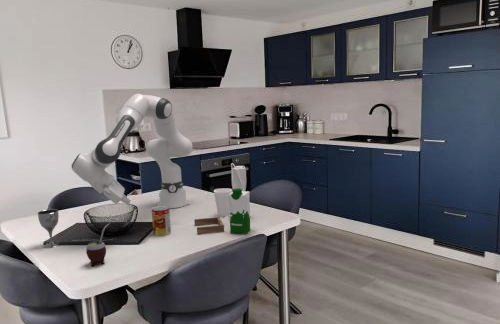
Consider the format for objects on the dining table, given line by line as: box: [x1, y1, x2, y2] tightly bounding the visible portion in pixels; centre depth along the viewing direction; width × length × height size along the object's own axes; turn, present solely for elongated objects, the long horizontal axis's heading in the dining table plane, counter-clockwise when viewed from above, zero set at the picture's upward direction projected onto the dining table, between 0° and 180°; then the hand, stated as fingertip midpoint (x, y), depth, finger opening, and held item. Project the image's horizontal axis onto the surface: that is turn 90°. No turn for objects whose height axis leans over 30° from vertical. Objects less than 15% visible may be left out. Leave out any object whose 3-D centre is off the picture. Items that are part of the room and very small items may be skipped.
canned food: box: [151, 205, 172, 237], centre depth 193 cm, size 8×8×12 cm
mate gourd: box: [85, 222, 111, 267], centre depth 159 cm, size 8×8×15 cm
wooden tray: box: [193, 216, 225, 236], centre depth 198 cm, size 14×12×3 cm
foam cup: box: [213, 187, 233, 217], centre depth 219 cm, size 10×9×13 cm
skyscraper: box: [230, 163, 247, 191], centre depth 211 cm, size 8×8×28 cm
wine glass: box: [37, 208, 59, 249], centre depth 182 cm, size 8×8×15 cm
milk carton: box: [228, 188, 251, 235], centre depth 191 cm, size 9×9×20 cm
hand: (129, 203), depth 188 cm, fingers closed
